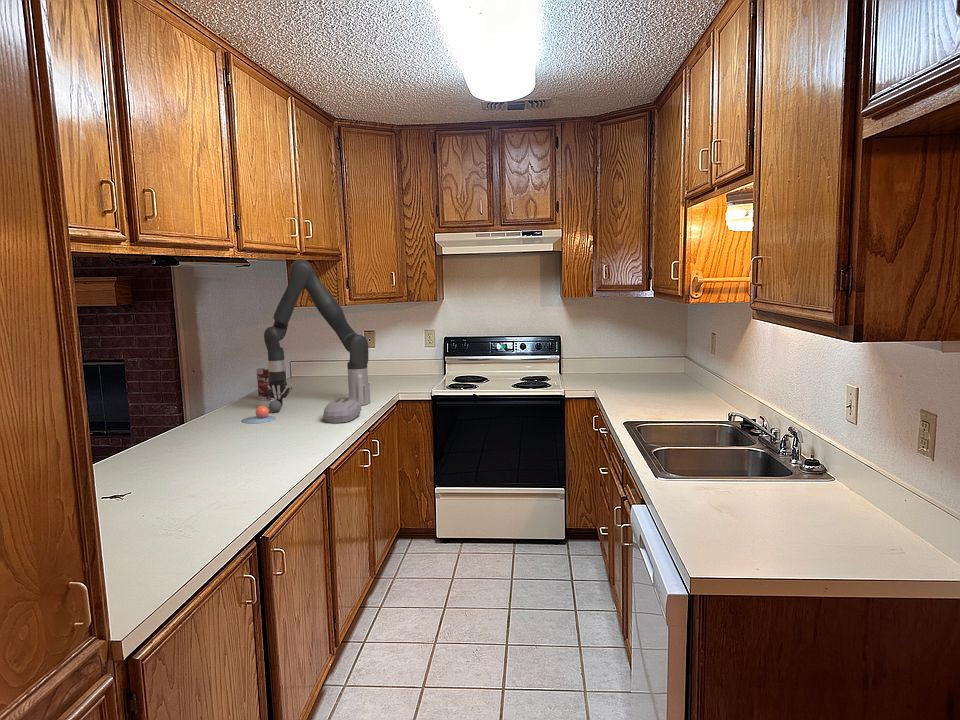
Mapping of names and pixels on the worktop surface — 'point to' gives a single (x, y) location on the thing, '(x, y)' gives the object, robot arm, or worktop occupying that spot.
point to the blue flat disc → (257, 419)
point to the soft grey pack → (342, 411)
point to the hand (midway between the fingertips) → (279, 407)
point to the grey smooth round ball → (275, 406)
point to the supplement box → (263, 384)
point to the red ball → (262, 411)
